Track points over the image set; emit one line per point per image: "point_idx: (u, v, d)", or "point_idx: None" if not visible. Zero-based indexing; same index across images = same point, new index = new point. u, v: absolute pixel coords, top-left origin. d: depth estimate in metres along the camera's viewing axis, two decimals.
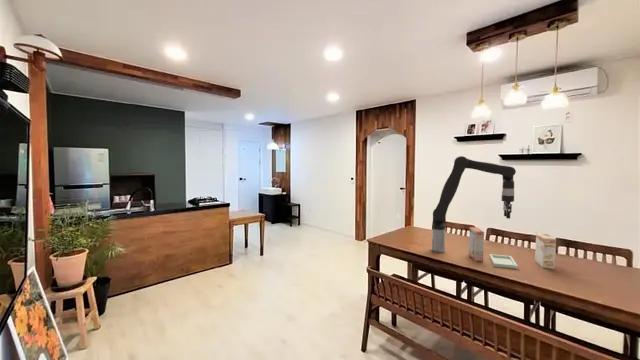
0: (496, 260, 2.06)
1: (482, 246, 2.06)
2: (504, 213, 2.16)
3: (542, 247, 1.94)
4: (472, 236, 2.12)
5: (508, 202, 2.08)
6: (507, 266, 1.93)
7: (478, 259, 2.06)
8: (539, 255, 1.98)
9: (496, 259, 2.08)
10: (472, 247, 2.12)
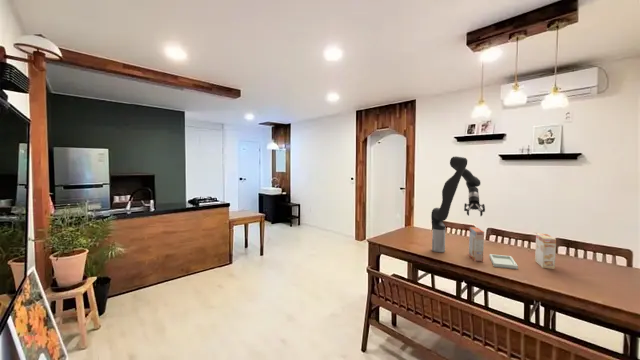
0: (496, 260, 2.06)
1: (482, 246, 2.06)
2: (468, 212, 2.30)
3: (542, 247, 1.94)
4: (472, 236, 2.12)
5: (479, 203, 2.33)
6: (507, 266, 1.93)
7: (478, 259, 2.06)
8: (539, 255, 1.98)
9: (496, 259, 2.08)
10: (472, 247, 2.12)
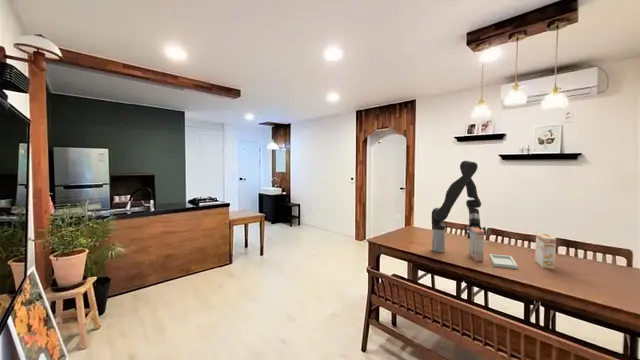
0: (496, 260, 2.06)
1: (482, 246, 2.05)
2: (469, 235, 2.20)
3: (542, 247, 1.94)
4: (472, 236, 2.12)
5: None
6: (507, 266, 1.93)
7: (478, 259, 2.06)
8: (539, 255, 1.98)
9: (496, 259, 2.08)
10: (472, 247, 2.11)
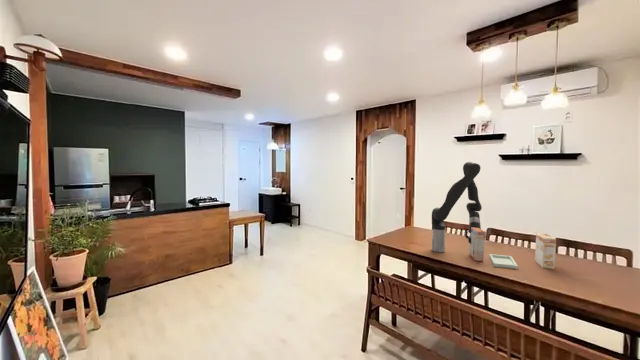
0: (496, 260, 2.06)
1: (483, 246, 2.05)
2: (470, 240, 2.17)
3: (542, 247, 1.94)
4: (473, 236, 2.12)
5: None
6: (507, 266, 1.93)
7: (478, 259, 2.06)
8: (539, 255, 1.98)
9: (496, 259, 2.08)
10: (473, 247, 2.11)
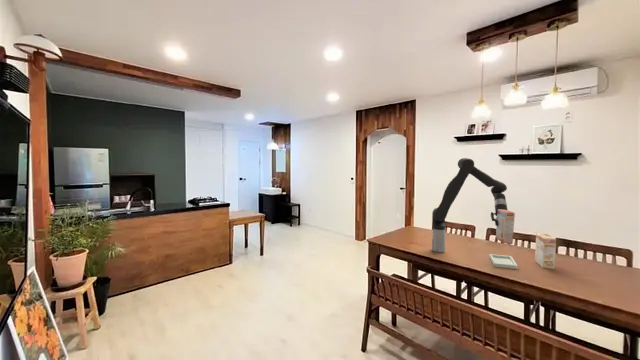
0: (496, 260, 2.06)
1: (512, 228, 1.95)
2: (497, 222, 2.06)
3: (542, 247, 1.94)
4: (501, 218, 2.01)
5: None
6: (507, 266, 1.93)
7: (507, 242, 1.96)
8: (539, 255, 1.98)
9: (496, 259, 2.08)
10: (501, 229, 2.01)
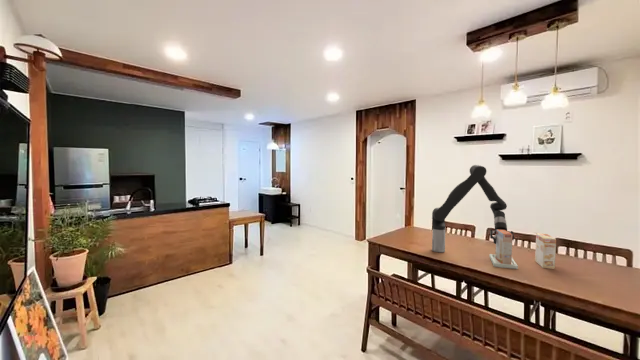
0: (496, 260, 2.06)
1: (510, 249, 1.96)
2: (495, 240, 2.07)
3: (542, 247, 1.94)
4: (499, 238, 2.03)
5: None
6: (507, 266, 1.93)
7: (506, 263, 1.97)
8: (539, 255, 1.98)
9: (496, 259, 2.08)
10: (499, 250, 2.02)
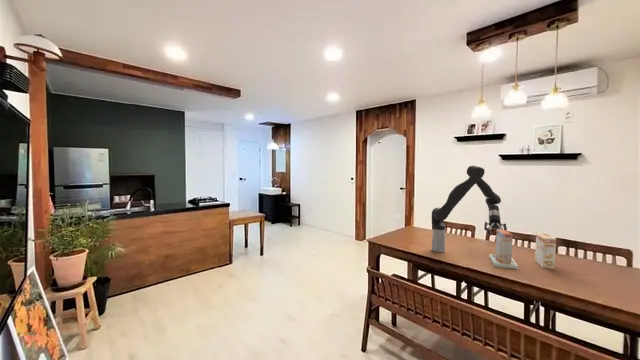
0: (496, 260, 2.06)
1: (510, 249, 1.96)
2: (489, 231, 2.21)
3: (542, 247, 1.94)
4: (499, 238, 2.03)
5: (500, 223, 2.24)
6: (507, 266, 1.93)
7: (506, 263, 1.97)
8: (539, 255, 1.98)
9: (496, 259, 2.08)
10: (499, 250, 2.02)
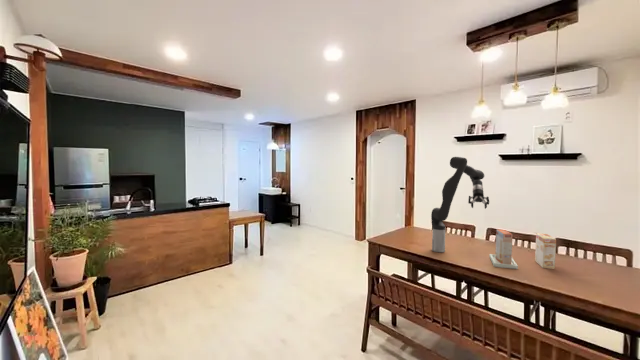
0: (496, 260, 2.06)
1: (510, 249, 1.96)
2: None
3: (542, 247, 1.94)
4: (499, 238, 2.03)
5: (483, 196, 2.33)
6: (507, 266, 1.93)
7: (506, 263, 1.97)
8: (539, 255, 1.98)
9: (496, 259, 2.08)
10: (499, 250, 2.02)
